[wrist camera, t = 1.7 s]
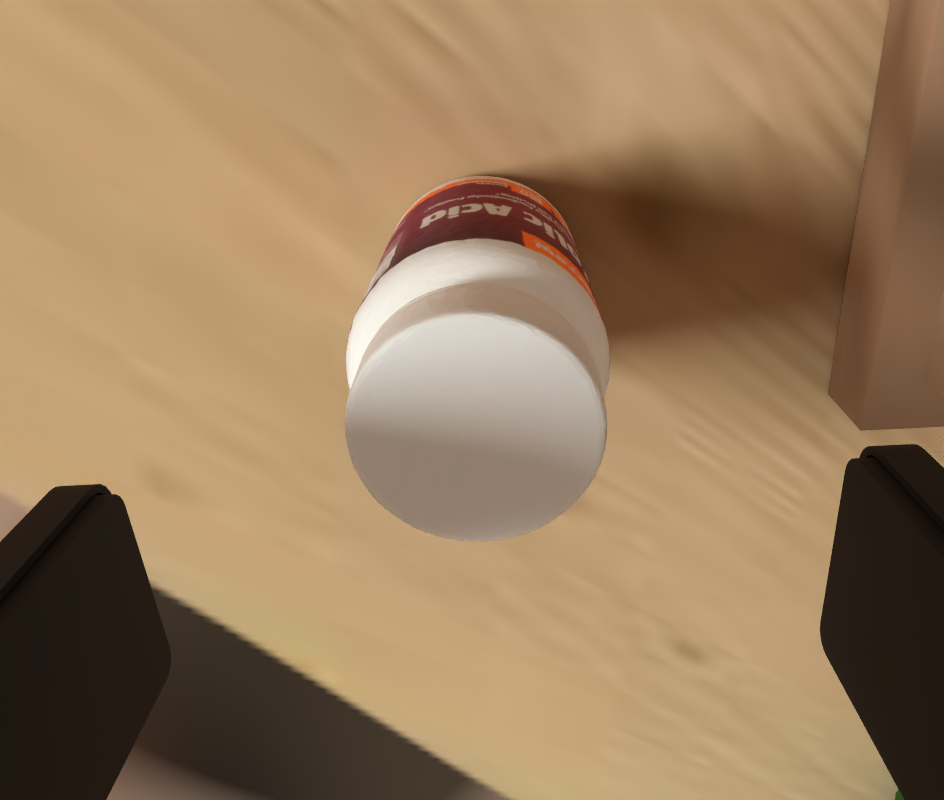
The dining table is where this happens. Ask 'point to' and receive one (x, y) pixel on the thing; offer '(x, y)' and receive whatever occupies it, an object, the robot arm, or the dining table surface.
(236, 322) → the dining table surface
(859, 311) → the plinth
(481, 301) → the pill bottle
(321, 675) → the dining table surface
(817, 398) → the dining table surface
